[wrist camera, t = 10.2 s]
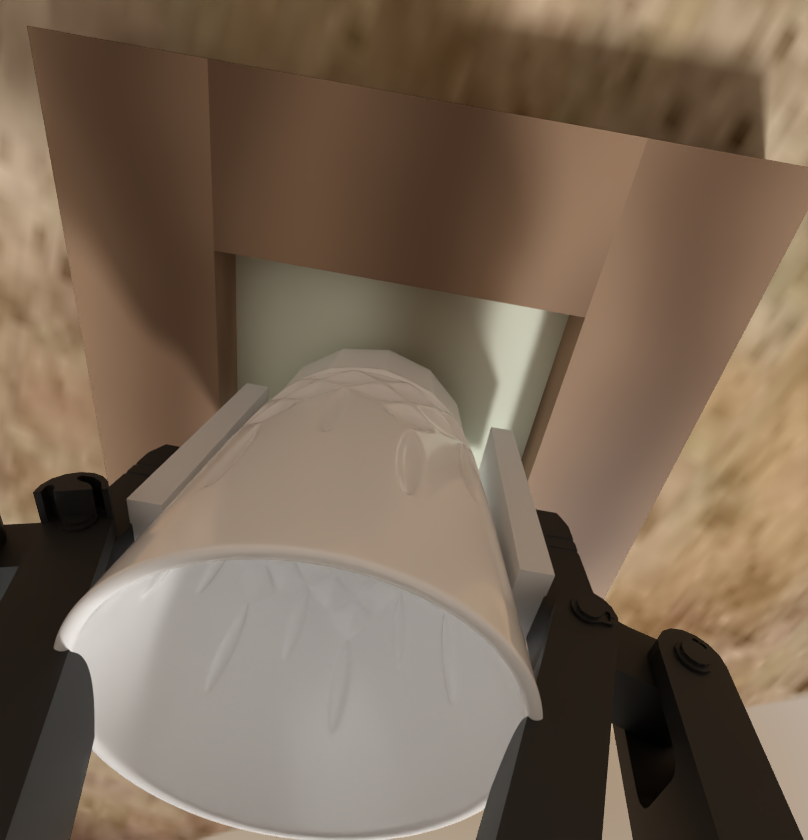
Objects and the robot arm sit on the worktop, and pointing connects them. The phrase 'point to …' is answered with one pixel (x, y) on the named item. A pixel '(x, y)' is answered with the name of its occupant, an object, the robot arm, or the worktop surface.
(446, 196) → the wooden picture frame
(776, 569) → the worktop surface
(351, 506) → the white cup
